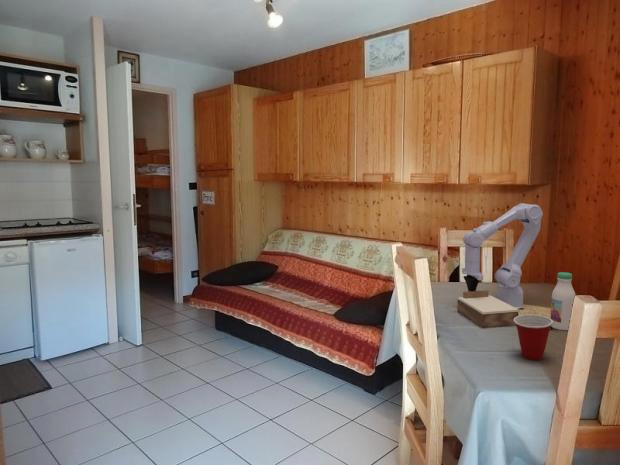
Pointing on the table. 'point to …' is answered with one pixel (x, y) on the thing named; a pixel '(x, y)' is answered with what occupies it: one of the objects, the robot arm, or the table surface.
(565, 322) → the milk bottle
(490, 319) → the storage box
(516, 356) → the table surface
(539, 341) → the plastic cup
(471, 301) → the lid
